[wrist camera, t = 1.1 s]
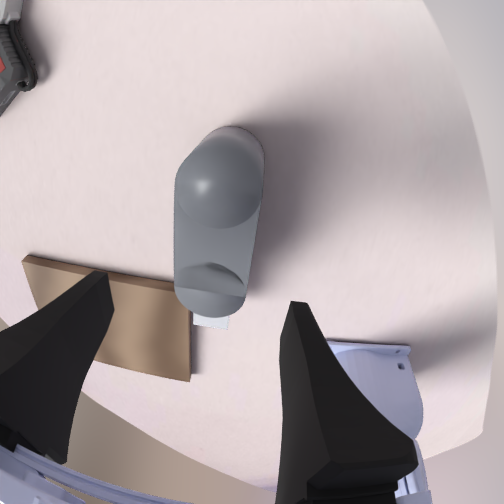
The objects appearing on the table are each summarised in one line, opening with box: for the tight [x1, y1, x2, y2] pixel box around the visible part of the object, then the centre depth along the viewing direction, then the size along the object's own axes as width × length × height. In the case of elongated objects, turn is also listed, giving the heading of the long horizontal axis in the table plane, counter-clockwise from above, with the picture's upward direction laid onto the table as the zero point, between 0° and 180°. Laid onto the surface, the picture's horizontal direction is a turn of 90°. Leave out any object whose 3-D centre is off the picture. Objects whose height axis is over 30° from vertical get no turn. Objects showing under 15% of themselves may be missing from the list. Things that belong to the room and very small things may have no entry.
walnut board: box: [21, 255, 191, 382], centre depth 26 cm, size 16×12×1 cm
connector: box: [174, 127, 265, 330], centre depth 18 cm, size 4×13×5 cm, turn 172°
